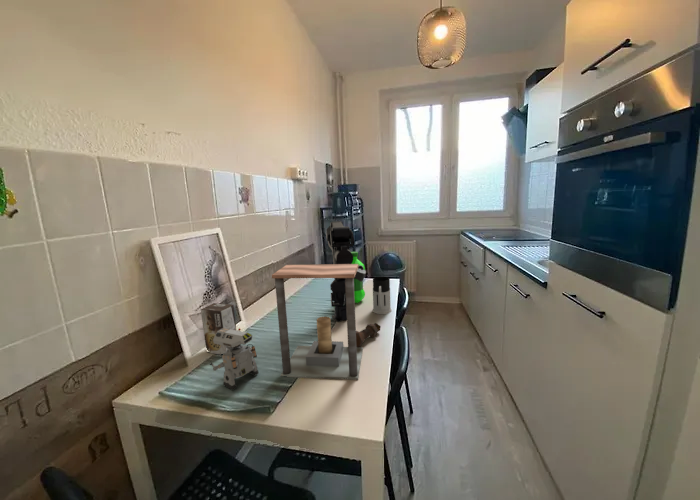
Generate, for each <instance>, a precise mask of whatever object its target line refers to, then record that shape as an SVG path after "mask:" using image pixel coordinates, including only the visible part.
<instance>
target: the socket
mask: <svg viewBox="0 0 700 500" xmlns="http://www.w3.org/2000/svg"><path fill="white" fill-rule="evenodd" d="M310 346H311V348H310V350H309V352H308V354H307V356H306V365H310V366H339V364H340V361H341V357H342V354H343V350H344V347H345V346H344V341H336V340H335V341H332V352H334V353H333V354H318V353H319V350H318V340H313V341H312V344H311V345H310Z"/></svg>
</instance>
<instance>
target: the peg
mask: <svg viewBox="0 0 700 500" xmlns="http://www.w3.org/2000/svg"><path fill="white" fill-rule="evenodd" d="M316 331H317V341H318V350H319V354H332V321H331V317H329V316H320V317H317V318H316Z"/></svg>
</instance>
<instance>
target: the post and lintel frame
mask: <svg viewBox="0 0 700 500" xmlns="http://www.w3.org/2000/svg"><path fill="white" fill-rule="evenodd" d="M358 267H359V265H358V264H332V263H331V264H330V263H329V264H328V263H327V264H324V263H323V264H318V263H316V264H315V263H314V264H286V265H284V266H283V267H281V268H279V269H278V270H276V272H274V273H273V274H271V279H274V283H275V284H274V287H275V297H276V308H277V318H278V330H279V331H278V332H279V341H280V343H279V344H280V354H281V366H282V372H281V373H280V377H281V376H287V377H286V378H304V379H305V378H306V379H329V380H331V379H332V380H359V377H360V370H361V366H362V358H363V350H364V347H363V346H361V347H356V331H357V330H356V328H357V324H356V303H355V296H354V277H355V275H356V272H357V270H358ZM334 278H345V288H346V311H347V320H346V328H347V330H346V331H347V346H344V350H343V354H342V357H341V361H340V364H339V366H310V365H306V356H307V354H308V352H309V350H310V348H311V346H312V345H297V346H296V348H295V350H294V351H293V353H292V355H291V354H290V353H291V352H290V342H289V341H290V340H289V330H288V329H289V327H288V316H287V305H286V302H287V301H286V292H285V282H284V281H285V279H334ZM333 353H334V352H332V354H333ZM318 354H319V353H318Z"/></svg>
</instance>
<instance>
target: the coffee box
mask: <svg viewBox="0 0 700 500" xmlns="http://www.w3.org/2000/svg"><path fill="white" fill-rule="evenodd" d="M200 317H201V322H202V329H203V336H204V343H205V348H207V350H208V351H210V352H211V353H210V354H216V355H221V354H223V353H224V352H226V351H227V350H228V349H227V347H228V346H223V345H219V344H214V342H213V339H214V337H215V335H216V333H217V331H218V330H220V329H222V328H227V329H232V330H237V322H236V315H235V308H234V304H231V303H228V304H227V303H216V302H215V303H214V302H213V303H211V304H208V305H206V306H205V307H203V308H201V309H200Z"/></svg>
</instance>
